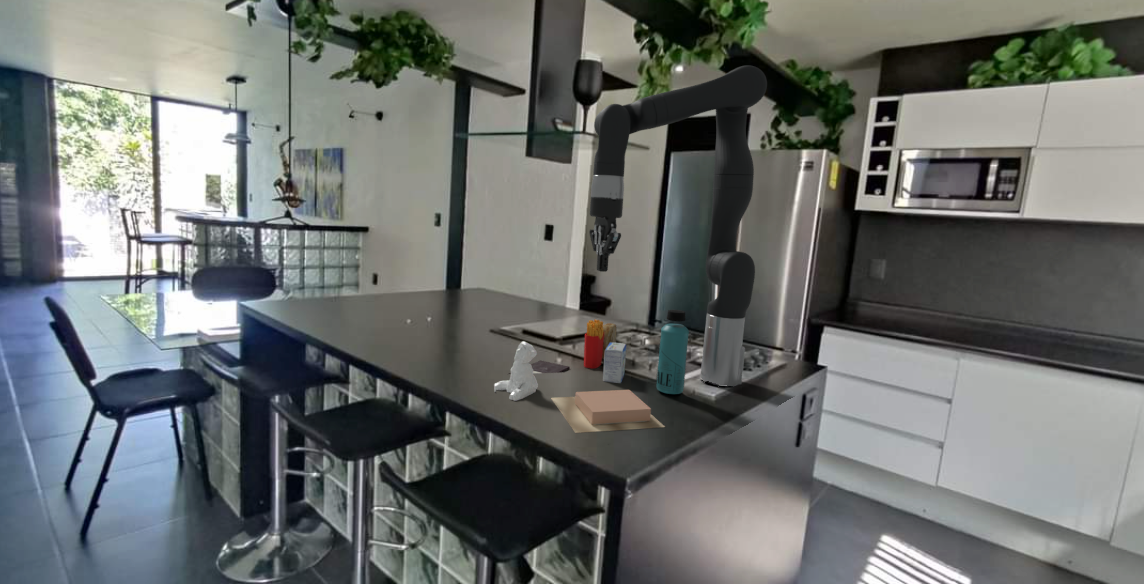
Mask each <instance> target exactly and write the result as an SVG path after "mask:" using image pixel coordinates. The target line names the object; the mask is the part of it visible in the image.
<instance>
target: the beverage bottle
mask: <svg viewBox="0 0 1144 584" xmlns="http://www.w3.org/2000/svg"><path fill="white" fill-rule="evenodd" d="M666 320H667V321H672V322H686V311H684V310H680V309H668V311H667V316H666ZM689 333H690V331H689V329H688V328H687V327H686V325H683V324H680V323H666V324H664V325H663V326H662V327H661V329H660V338H659V339H660V340H659V346H658V347H659V349H658V362H657V369H656V370H657V372H656V377H655V378H656V379H655V383H656V385H655V386H656V390H657V391H659V392H661V393H664V394H667V395H668V394H669V395H680V394H682V393H683V391H684V389H685V384H686V383H685V380H686V368H687V366H686V364H687V355H688V342H689Z"/></svg>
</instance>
